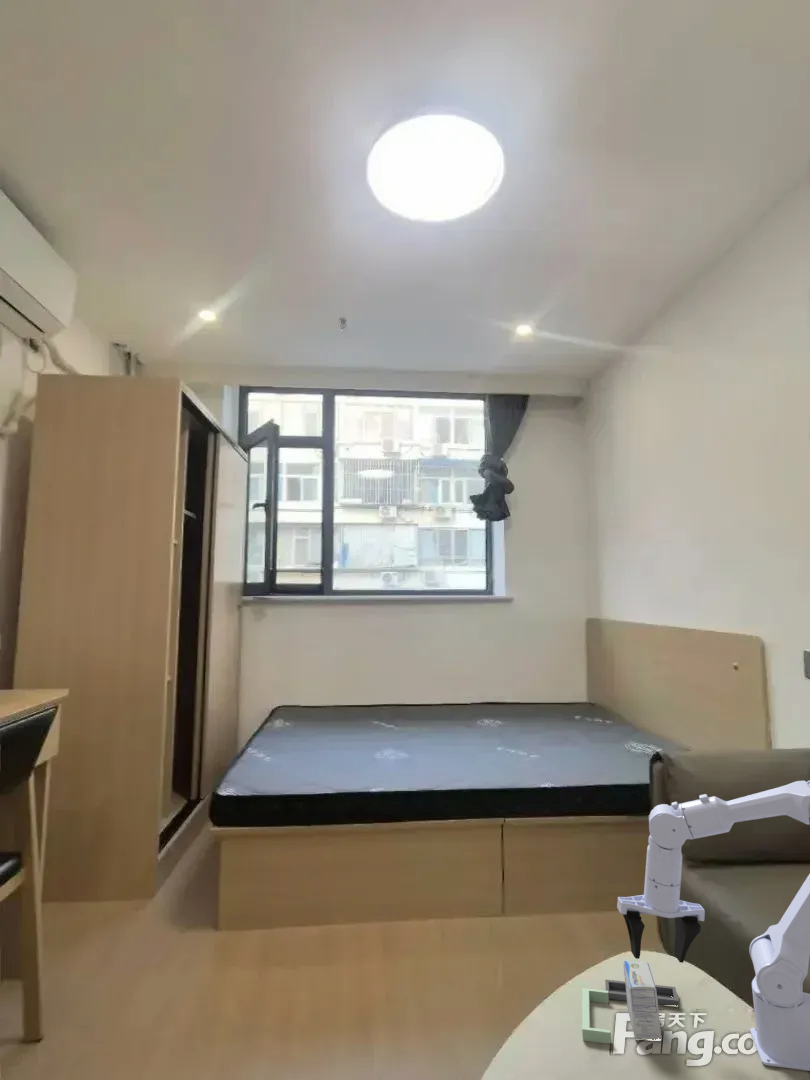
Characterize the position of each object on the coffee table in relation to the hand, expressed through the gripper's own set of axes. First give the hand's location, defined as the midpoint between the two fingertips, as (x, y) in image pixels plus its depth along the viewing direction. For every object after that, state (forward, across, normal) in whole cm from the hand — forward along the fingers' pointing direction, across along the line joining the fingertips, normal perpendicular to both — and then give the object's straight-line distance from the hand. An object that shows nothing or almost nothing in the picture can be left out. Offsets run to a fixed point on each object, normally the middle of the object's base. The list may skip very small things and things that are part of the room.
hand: (657, 956), depth 107 cm
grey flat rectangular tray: (+12, -5, -7) cm, 14 cm away
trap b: (+13, +2, -9) cm, 16 cm away
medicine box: (+12, +1, 0) cm, 12 cm away
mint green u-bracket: (+13, +9, -2) cm, 16 cm away
